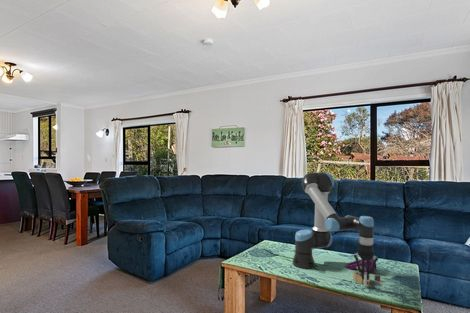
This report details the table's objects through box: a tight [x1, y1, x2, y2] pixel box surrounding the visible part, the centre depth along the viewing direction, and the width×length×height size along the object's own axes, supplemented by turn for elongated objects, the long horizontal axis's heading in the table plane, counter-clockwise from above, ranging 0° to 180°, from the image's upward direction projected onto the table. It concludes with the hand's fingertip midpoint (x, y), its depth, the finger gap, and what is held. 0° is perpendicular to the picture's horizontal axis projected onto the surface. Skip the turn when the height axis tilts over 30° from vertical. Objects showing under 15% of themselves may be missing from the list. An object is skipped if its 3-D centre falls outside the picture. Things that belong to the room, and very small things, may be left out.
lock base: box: [356, 266, 384, 285], centre depth 169 cm, size 28×14×9 cm, turn 76°
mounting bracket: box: [345, 258, 377, 275], centre depth 186 cm, size 9×8×18 cm
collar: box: [352, 270, 375, 288], centre depth 165 cm, size 16×8×5 cm, turn 4°
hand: (365, 284), depth 161 cm, fingers closed
